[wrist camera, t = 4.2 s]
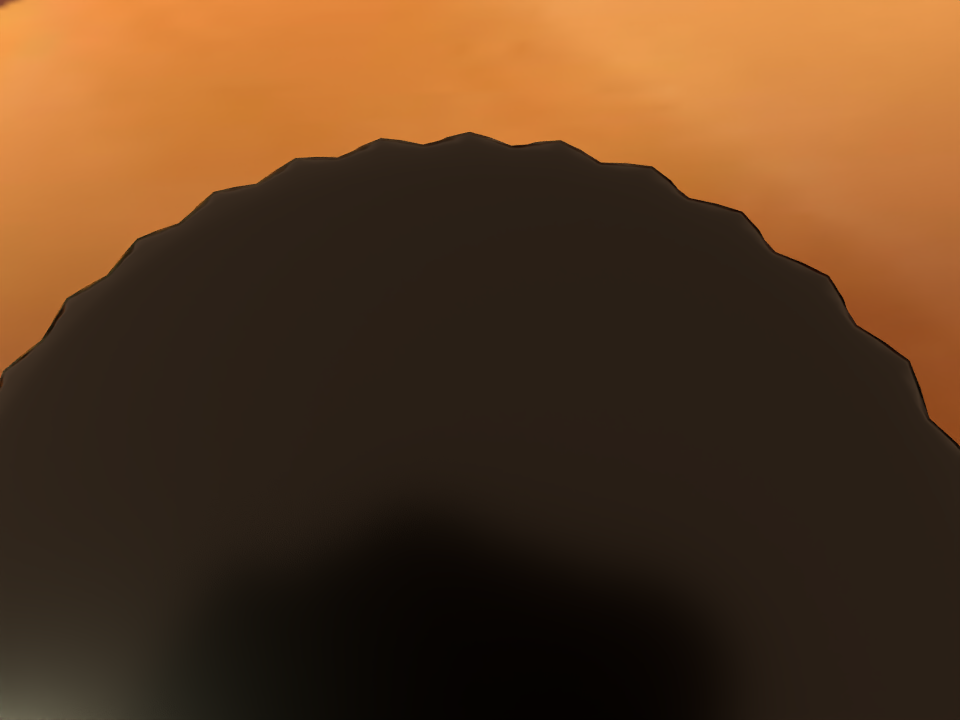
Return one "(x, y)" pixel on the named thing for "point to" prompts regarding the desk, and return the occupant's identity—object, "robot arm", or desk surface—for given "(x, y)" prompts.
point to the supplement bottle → (471, 464)
